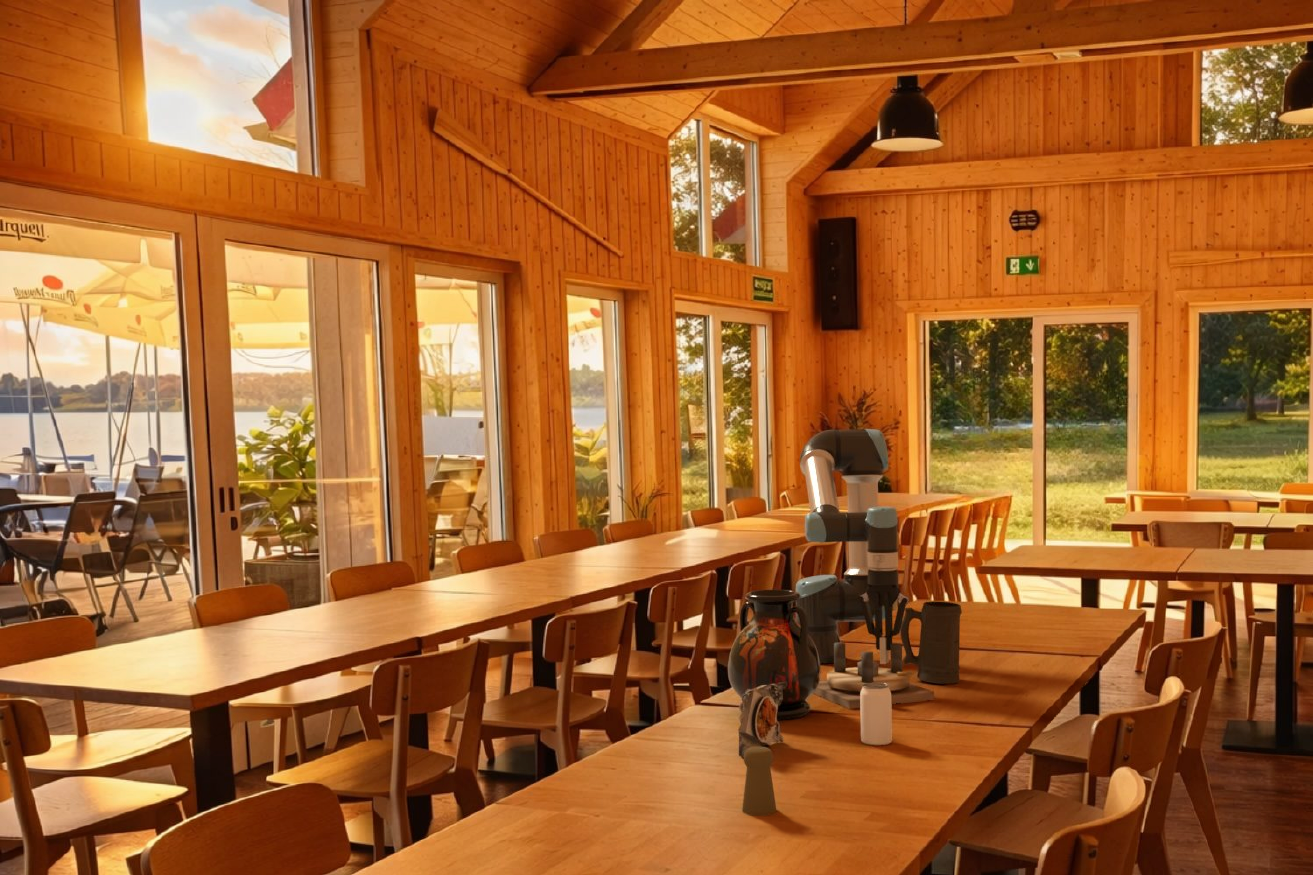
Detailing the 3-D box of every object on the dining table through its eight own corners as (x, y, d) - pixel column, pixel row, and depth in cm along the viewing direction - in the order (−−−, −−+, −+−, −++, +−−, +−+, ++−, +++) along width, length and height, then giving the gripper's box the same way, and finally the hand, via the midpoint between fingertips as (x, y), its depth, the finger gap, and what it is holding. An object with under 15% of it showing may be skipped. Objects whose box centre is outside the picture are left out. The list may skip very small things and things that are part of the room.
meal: (757, 759, 261) (755, 694, 260) (738, 757, 263) (737, 692, 263) (789, 743, 273) (788, 681, 273) (771, 740, 276) (770, 679, 275)
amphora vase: (709, 714, 300) (707, 594, 300) (766, 698, 316) (764, 584, 316) (783, 728, 286) (781, 602, 285) (840, 711, 301) (838, 591, 301)
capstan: (812, 679, 324) (812, 643, 324) (884, 672, 331) (883, 637, 331) (851, 694, 305) (850, 656, 305) (926, 687, 312) (925, 649, 312)
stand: (805, 690, 325) (804, 680, 325) (885, 682, 333) (885, 673, 333) (849, 708, 303) (849, 699, 303) (934, 699, 311) (934, 690, 311)
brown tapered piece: (739, 805, 230) (738, 744, 230) (773, 804, 230) (772, 742, 230) (744, 816, 224) (743, 752, 224) (779, 814, 224) (778, 751, 224)
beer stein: (959, 676, 338) (958, 600, 338) (965, 685, 327) (964, 606, 327) (899, 676, 340) (898, 600, 339) (903, 685, 329) (902, 606, 329)
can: (894, 739, 274) (893, 682, 274) (889, 746, 268) (888, 689, 268) (863, 737, 277) (862, 681, 276) (858, 744, 270) (857, 687, 270)
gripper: (853, 569, 323) (854, 663, 324) (904, 571, 317) (906, 667, 318) (862, 566, 330) (863, 658, 330) (912, 567, 324) (914, 661, 325)
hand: (884, 662), depth 324 cm, fingers closed
